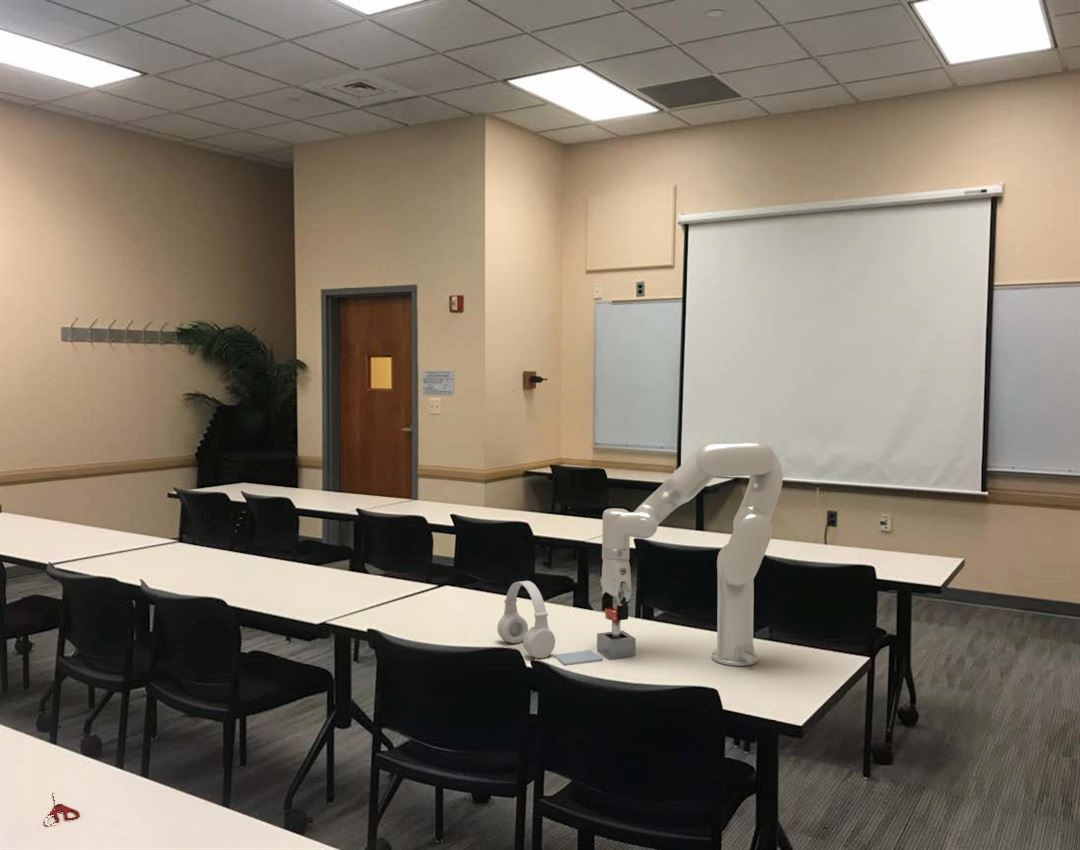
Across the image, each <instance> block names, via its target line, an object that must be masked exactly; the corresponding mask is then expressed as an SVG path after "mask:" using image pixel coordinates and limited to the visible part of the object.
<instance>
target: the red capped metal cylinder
mask: <svg viewBox="0 0 1080 850" xmlns="http://www.w3.org/2000/svg"><path fill="white" fill-rule="evenodd" d="M604 613H605V614H604V618H605V619H606V620H609V621H611V632H612V639H619V638H620V631H621V620H617V605H614V606H610V607H606V608H605V611H604Z"/></svg>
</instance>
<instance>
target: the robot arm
mask: <svg viewBox="0 0 1080 850" xmlns="http://www.w3.org/2000/svg"><path fill="white" fill-rule="evenodd" d="M743 476H744V477H746V476H747V477H748V476H749V482H748V486H747V488H746V490H745V493H744V496H743V499H742V501H741V503H740V506H739V508H738V510H737V512H736V514H735V516H734V519H733V522H732V525H733V527H732V528H733V530H732V534H731V535H730V538H729V541H728V543H727V544H725V545H724V546H722V548H721V549H720V550H719V552H718V555H717V560H716V569H717V574H716V575H717V608H716V609H717V615H716V616H717V617H716V618H717V622H716V623H717V626H716V627H717V628H716V629H717V632H716V633H717V634H716V635H717V638H716V640H717V645H716V649H714V650H713V651H712V652H711V653H710V655H711V659H712V660H713V661H714V662H715V663H717V664H723V665H726V666H727V665H728V666H731V667H732V666H734V667H746V666H752V665H755V664H757V663H758V662H759V661H760V656H759V654H758V653H756V652H755V646H754V605H755V604H754V599H755V598H754V595H755V592H754V590H755V589H754V588H755V587H754V586H755V583H754V579H755V577H756V575H757V573H758V572H759V569H760V567H761V564H762V561H763V559H764V557H765V554H766V551H767V550H768V547H769V544H770V541H771V538H772V533H773V527H772V523H771V519H772V517H773V514H774V512H775V509H776V506H777V503H778V500H779V498H780V494H781V491H782V486H783V479H784V478H783V470H782V466H781V463H780V460H779V458H778V456H777V455H776V453H775V451H774V449H773V448H772V447H771V446H770V445H769V444H768V443H766V442H765V441H763V440H760V439H751V440H749V441H747V442H743V443H720V442H718V441H706V442H705V443H703V444H702V445H701V446H700V447H698V449H696V450H695V451H694V452H693V454H691V455H690V456H689V457H688V459H686V460H685V461H684V462H683V463H681V465H680V466H679V467H678V468H677V469H676V470H674V472H673V473H672V474H671V475H669V476H668V477H667V478H666V479H665V480H664V481H663V483H662V484H661V485H660V486H659V487H658V488H657V489H656V490H655V491H653V492H652V493H651V494H650V495H649V496H648V497H647V498H646V499H645V500H644V501H643V502H642V503H641V504H639V506H638V507H637V508H636V509H635V510H634V511H628V510H627V509H624V508H617V507H616V508H615V507H614V508H613V507H612V508H607V509H605V510H604V511H603V513H602V528H601V529H602V537H601V540H602V544H601V545H602V546H601V559H602V566H601V577H600V579H599V580H600V581H599V582H600V589H601V593H600V594H601V611H603V612H605V608H606V607H610V606H613V605H614V603H613V602H614V597H615V598H616V600H617V601H616V602H617V605H616V606H617V620H620V621H624V620H625V621H626V620H629V606H630V601H631V596H632V574H631V573H632V572H631V565H630V561H629V560H630V542H631V541H630V540H631V538H637V539H641V540H642V539H643V540H645V539H649V538H652V537H653V536H654V535H655V534H656V533H657V530H658V526H659V525H660V524H661V523H662V522H663V521H664V520H665V519H666V518H667V517H668V516H669V515H670V514H671V513H672V512H674V511H675V510H676V509H677V508H679V507H680V506H681V505H684V504H686V503H688V502H691V500H692V499H693V498H695V496H697V494H699V493H700V492H701V490H703V489H704V488H705V487H706V486H707V485H708V484H709V483H710V482H711V481H713V480H714V478H716V477H743Z"/></svg>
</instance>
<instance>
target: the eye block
mask: <svg viewBox="0 0 1080 850" xmlns="http://www.w3.org/2000/svg"><path fill="white" fill-rule="evenodd" d="M636 641H637V639H636V637H634V636H633V635H631V634H629V633H628V632H626V631H624V630H620V638H619V639H612V631H607V632H600V633H599V632H598V633H596V652H598V653H599V654H601V655H602V656H604V658H606V659H607V660H609V661H611V660H617V659H624V658H634V657H636V655H637V653H636V651H637V650H636V649H637V648H636V643H637V642H636Z"/></svg>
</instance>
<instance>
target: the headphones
mask: <svg viewBox="0 0 1080 850" xmlns="http://www.w3.org/2000/svg"><path fill="white" fill-rule="evenodd" d="M521 587H524V588H525V590H526V591H527V593H528V594H529V597H530V599H531V602H532V605H533V609H534V614H533V615H534V626H533V627H530V628H529V626H528V622H527V620H526V619H525V618H524V617H523V616H521V615H520V614H519V611H518V608H517V607H518V606H517V603H518V602H517V601H518V599H517V597H518V593H519V590H520V588H521ZM546 610H547V609H546V606H545V601H544V599H543V596H542V594H541V592H540V590H539V588H538V587H537V586H536V584H535V583H534V582H532V581H531V580H524V581H523V580H522V581H516V582H513V583H512V584H511V585H510V587H509V588H508V591H507V594H506V597H505V599H504V610H503V611H504V612H503V615H502V617H501V618H500V619H499V621H498V623H497V634H498V636H499V637H500V638H501V639H502V640H503V641H504V642H507V643H511V644H518V643H520V642H522V641H523V643H522V644H523V648H524V649H525V651H526V652H527V654H529V655H530V656H532V657H533V658H536V659H539V658H541V659H545V658H547V657H549V656H550V655H551V654H552V652H553V651H554V649H555V647H556V637H555V635H554V634H555V633H553V631H552V630H551V629H550V627H549V623H548V616H549V614H548V611H546ZM544 657H545V658H544Z"/></svg>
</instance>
